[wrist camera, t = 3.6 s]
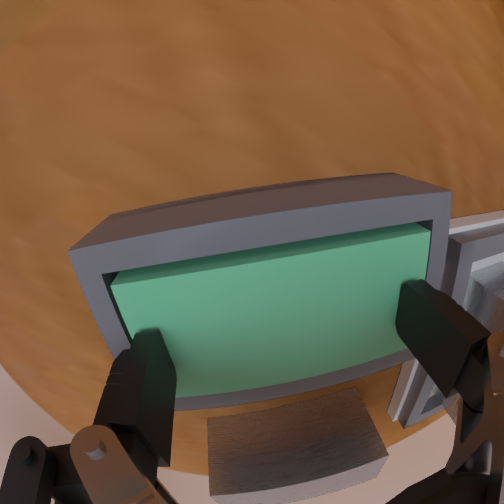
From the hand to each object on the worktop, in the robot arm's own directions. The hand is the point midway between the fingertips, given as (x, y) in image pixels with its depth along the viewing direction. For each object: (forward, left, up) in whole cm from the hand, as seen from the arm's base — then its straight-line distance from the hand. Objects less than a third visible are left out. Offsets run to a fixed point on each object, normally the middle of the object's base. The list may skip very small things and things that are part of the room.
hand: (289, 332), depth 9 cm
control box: (0, 0, -4) cm, 4 cm away
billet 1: (+12, 0, -4) cm, 13 cm away
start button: (0, 0, -1) cm, 2 cm away
